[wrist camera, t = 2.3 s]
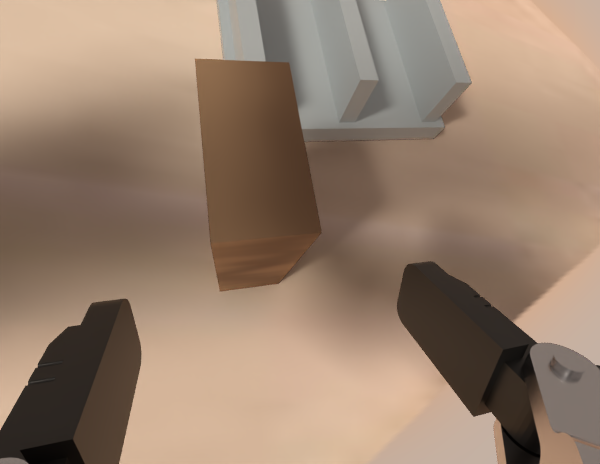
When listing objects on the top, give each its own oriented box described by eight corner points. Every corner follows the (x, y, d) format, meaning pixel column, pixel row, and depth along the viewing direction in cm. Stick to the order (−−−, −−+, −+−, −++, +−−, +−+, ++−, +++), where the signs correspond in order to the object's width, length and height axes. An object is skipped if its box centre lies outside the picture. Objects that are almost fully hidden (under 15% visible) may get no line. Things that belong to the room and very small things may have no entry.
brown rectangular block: (220, 291, 19) (210, 243, 10) (210, 184, 21) (195, 58, 12) (278, 283, 20) (321, 232, 10) (263, 181, 22) (289, 62, 12)
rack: (233, 143, 22) (234, 83, 17) (216, 3, 26) (213, -80, 21) (433, 138, 26) (483, 89, 21) (394, 18, 30) (428, -49, 25)
